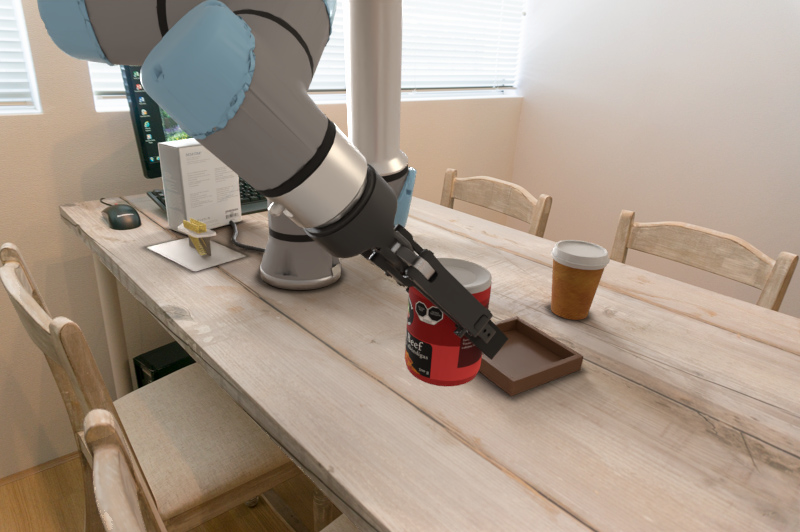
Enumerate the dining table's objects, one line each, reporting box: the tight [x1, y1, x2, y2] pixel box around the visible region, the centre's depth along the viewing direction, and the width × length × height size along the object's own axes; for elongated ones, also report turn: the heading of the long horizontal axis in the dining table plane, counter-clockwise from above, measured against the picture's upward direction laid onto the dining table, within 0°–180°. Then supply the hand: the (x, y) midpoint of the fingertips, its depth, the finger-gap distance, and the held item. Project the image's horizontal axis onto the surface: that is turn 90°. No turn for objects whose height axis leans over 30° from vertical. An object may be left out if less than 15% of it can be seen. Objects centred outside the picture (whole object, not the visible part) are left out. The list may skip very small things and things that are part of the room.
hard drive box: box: [157, 137, 243, 236], centre depth 123 cm, size 16×8×20 cm, turn 144°
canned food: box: [404, 257, 493, 387], centre depth 54 cm, size 8×8×11 cm
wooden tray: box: [478, 315, 584, 397], centre depth 78 cm, size 14×14×2 cm
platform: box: [146, 218, 247, 273], centre depth 109 cm, size 12×18×7 cm, turn 51°
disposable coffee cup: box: [550, 239, 610, 321], centre depth 91 cm, size 10×10×12 cm
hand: (470, 328), depth 56 cm, fingers closed on canned food, 8 cm apart
